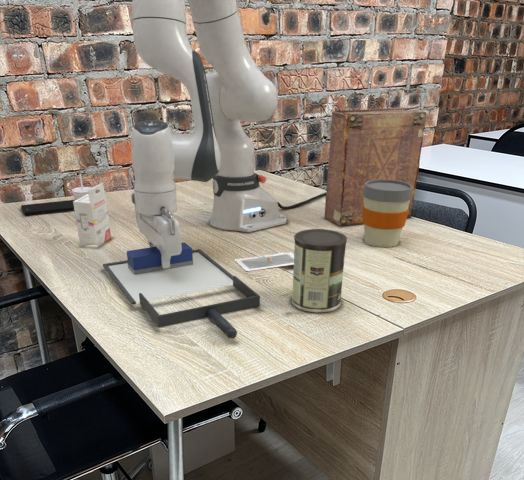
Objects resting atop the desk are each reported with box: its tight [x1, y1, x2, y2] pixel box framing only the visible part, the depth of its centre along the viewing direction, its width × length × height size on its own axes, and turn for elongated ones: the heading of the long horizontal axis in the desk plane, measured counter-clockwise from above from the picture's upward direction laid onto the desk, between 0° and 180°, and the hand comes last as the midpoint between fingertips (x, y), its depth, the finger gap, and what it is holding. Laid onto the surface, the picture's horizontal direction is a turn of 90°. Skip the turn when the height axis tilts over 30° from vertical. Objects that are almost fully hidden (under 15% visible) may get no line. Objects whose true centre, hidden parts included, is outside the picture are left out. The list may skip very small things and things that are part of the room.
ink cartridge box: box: [73, 182, 112, 247], centre depth 142 cm, size 9×5×15 cm, turn 168°
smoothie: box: [71, 173, 97, 200], centre depth 156 cm, size 6×6×14 cm
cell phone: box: [20, 199, 75, 216], centre depth 171 cm, size 9×18×1 cm, turn 117°
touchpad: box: [234, 251, 294, 272], centre depth 132 cm, size 8×15×2 cm, turn 113°
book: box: [323, 107, 428, 227], centre depth 161 cm, size 25×9×30 cm, turn 114°
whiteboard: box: [102, 248, 234, 305], centre depth 125 cm, size 24×23×2 cm
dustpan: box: [139, 275, 261, 340], centre depth 107 cm, size 22×21×3 cm
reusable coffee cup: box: [362, 180, 412, 248], centre depth 147 cm, size 12×13×15 cm
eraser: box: [126, 241, 193, 275], centre depth 128 cm, size 14×5×4 cm, turn 119°
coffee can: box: [291, 228, 348, 313], centre depth 112 cm, size 10×10×14 cm
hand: (160, 262), depth 128 cm, fingers open, 5 cm apart
